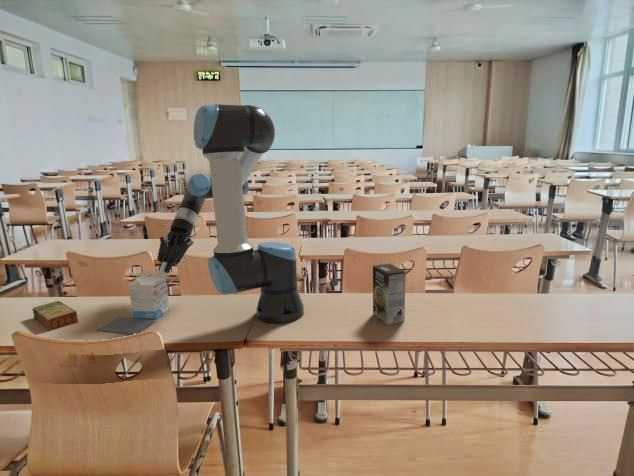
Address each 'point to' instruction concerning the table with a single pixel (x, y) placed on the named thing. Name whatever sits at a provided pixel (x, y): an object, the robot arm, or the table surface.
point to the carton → (55, 315)
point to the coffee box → (389, 293)
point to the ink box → (149, 296)
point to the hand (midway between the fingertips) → (159, 280)
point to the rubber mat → (126, 325)
